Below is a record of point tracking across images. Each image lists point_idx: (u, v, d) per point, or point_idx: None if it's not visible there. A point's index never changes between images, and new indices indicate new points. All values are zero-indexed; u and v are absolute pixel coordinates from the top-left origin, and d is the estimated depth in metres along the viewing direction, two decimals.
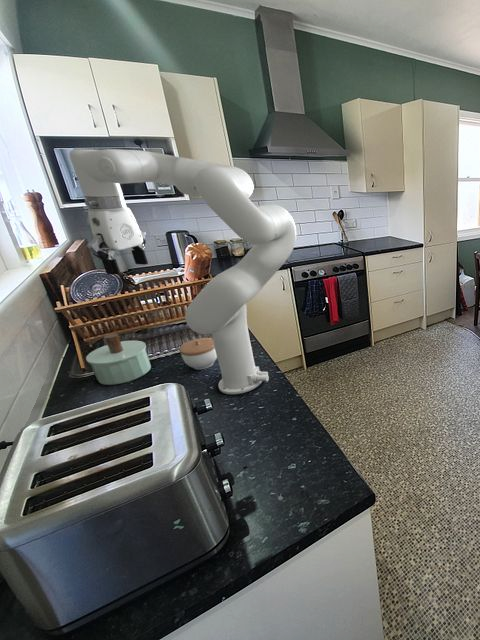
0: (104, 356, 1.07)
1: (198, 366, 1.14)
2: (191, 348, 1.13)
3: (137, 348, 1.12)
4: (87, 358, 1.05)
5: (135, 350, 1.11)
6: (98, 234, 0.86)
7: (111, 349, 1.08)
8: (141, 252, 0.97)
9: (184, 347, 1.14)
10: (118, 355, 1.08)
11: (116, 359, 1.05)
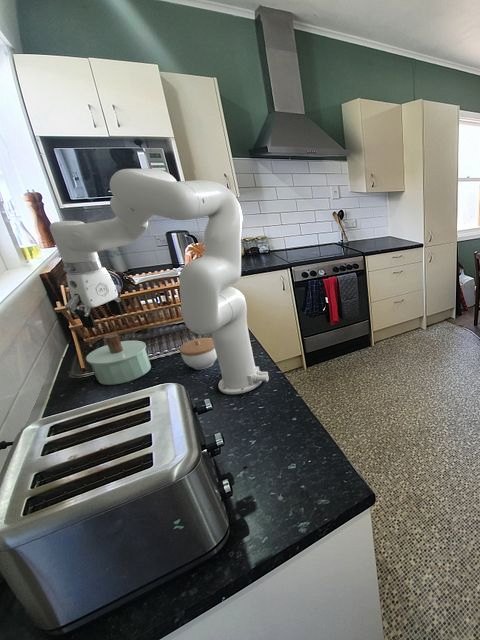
0: (104, 356, 1.07)
1: (198, 366, 1.14)
2: (191, 348, 1.13)
3: (137, 348, 1.12)
4: (87, 358, 1.05)
5: (135, 350, 1.11)
6: (75, 294, 0.97)
7: (111, 349, 1.08)
8: (116, 304, 1.08)
9: (184, 347, 1.14)
10: (118, 355, 1.08)
11: (116, 359, 1.05)
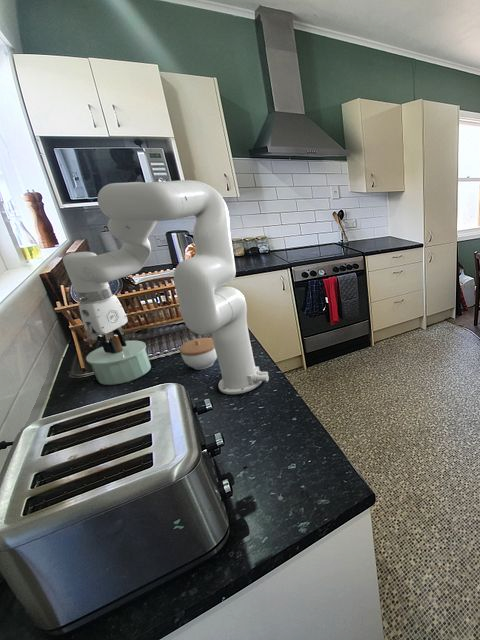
0: (104, 356, 1.07)
1: (198, 366, 1.14)
2: (191, 348, 1.13)
3: (137, 348, 1.12)
4: (87, 358, 1.05)
5: (135, 350, 1.11)
6: (89, 324, 1.01)
7: None
8: (120, 337, 1.10)
9: (184, 347, 1.14)
10: (118, 355, 1.08)
11: (116, 359, 1.05)
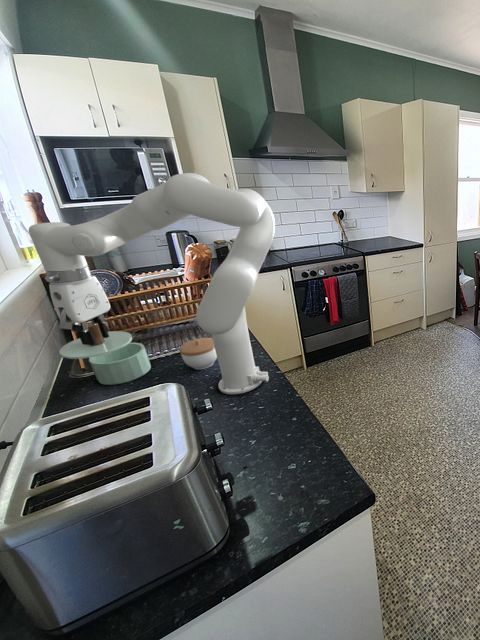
0: (81, 349, 0.90)
1: (198, 366, 1.14)
2: (191, 348, 1.13)
3: (121, 340, 0.95)
4: (60, 351, 0.88)
5: (119, 342, 0.94)
6: (62, 310, 0.84)
7: None
8: (101, 326, 0.93)
9: (184, 347, 1.14)
10: (98, 348, 0.90)
11: (95, 352, 0.88)
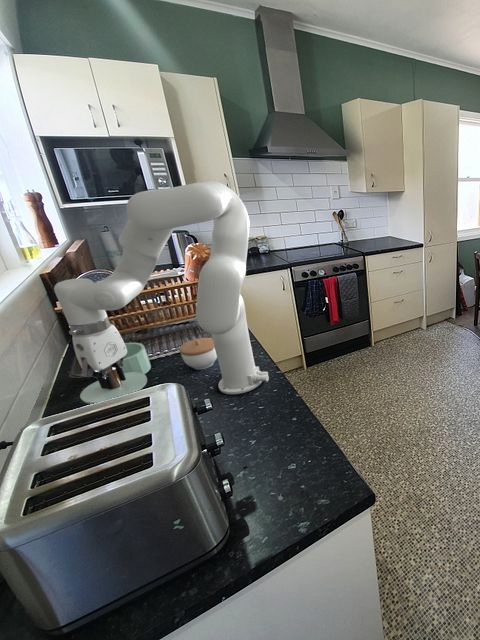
0: (100, 393, 0.95)
1: (198, 366, 1.14)
2: (191, 348, 1.13)
3: (137, 382, 1.00)
4: (81, 396, 0.94)
5: (135, 385, 0.99)
6: (84, 360, 0.90)
7: None
8: (119, 370, 0.98)
9: (184, 347, 1.14)
10: (116, 392, 0.96)
11: None
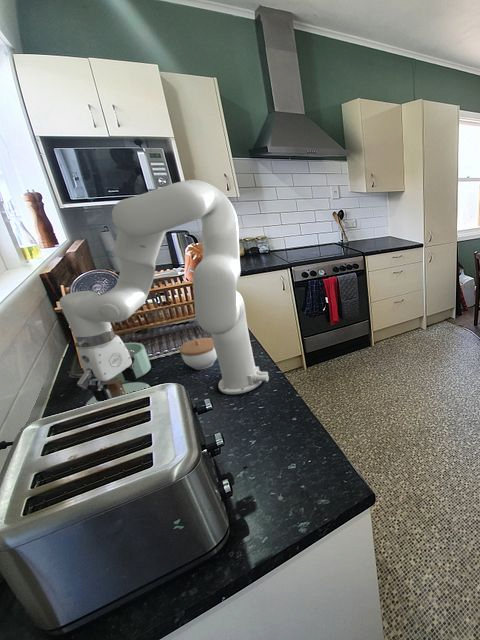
0: None
1: (198, 366, 1.14)
2: (191, 348, 1.13)
3: None
4: None
5: None
6: (88, 369, 0.90)
7: (113, 395, 0.98)
8: (130, 371, 1.02)
9: (184, 347, 1.14)
10: None
11: None
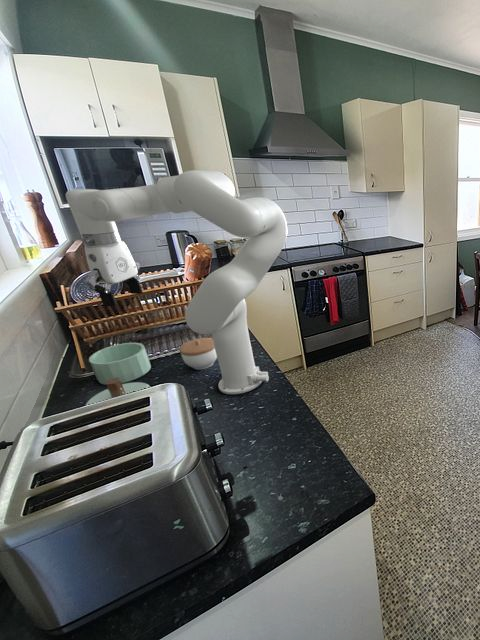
0: None
1: (198, 366, 1.14)
2: (191, 348, 1.13)
3: None
4: None
5: None
6: (95, 269, 0.90)
7: (113, 395, 0.98)
8: (136, 282, 1.01)
9: (184, 347, 1.14)
10: None
11: None
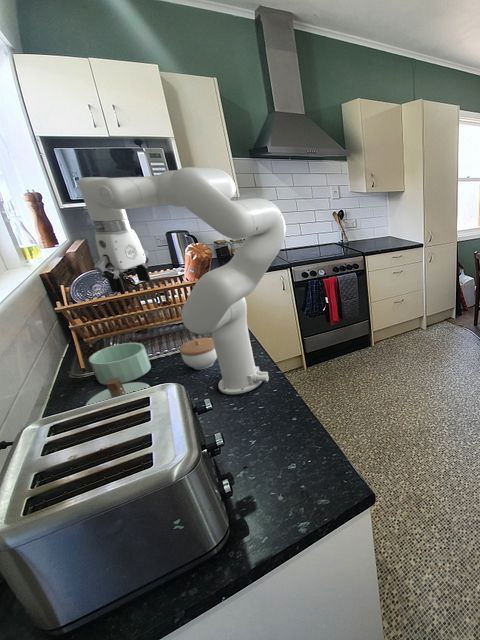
0: None
1: (198, 366, 1.14)
2: (191, 348, 1.13)
3: None
4: None
5: None
6: (104, 255, 0.92)
7: (113, 395, 0.98)
8: (144, 270, 1.03)
9: (184, 347, 1.14)
10: None
11: None
